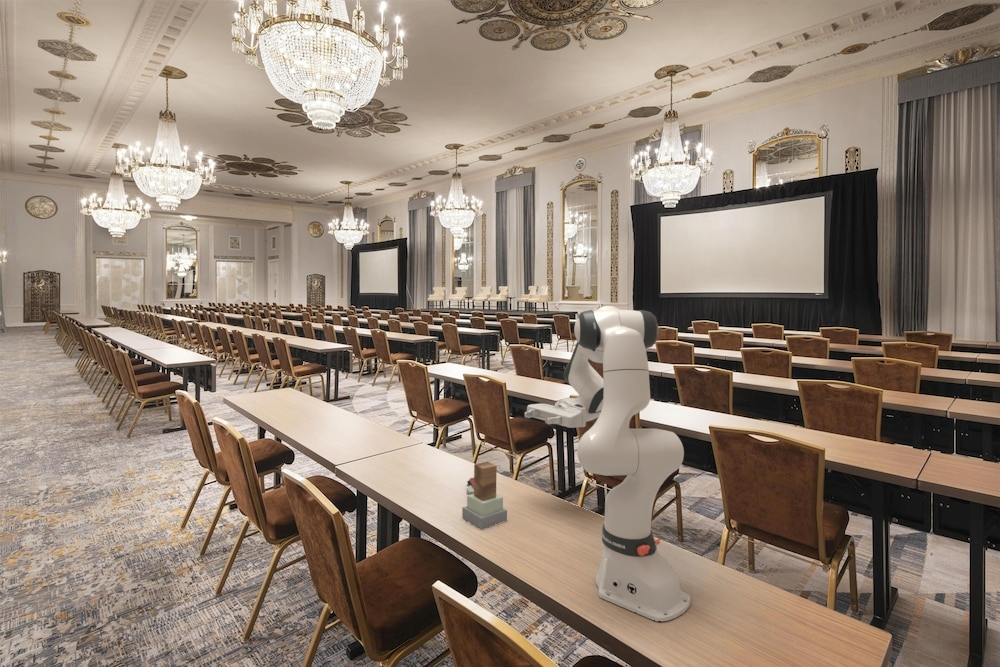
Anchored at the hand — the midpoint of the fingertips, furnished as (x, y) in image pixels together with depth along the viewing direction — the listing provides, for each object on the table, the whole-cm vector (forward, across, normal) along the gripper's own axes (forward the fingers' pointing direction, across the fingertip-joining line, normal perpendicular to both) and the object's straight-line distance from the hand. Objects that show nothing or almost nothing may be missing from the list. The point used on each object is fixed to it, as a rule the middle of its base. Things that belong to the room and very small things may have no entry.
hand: (536, 418), depth 163 cm
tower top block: (+14, -8, +28) cm, 33 cm away
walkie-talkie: (+2, -25, +33) cm, 41 cm away
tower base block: (+14, -8, +32) cm, 36 cm away
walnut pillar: (+14, -8, +24) cm, 29 cm away
